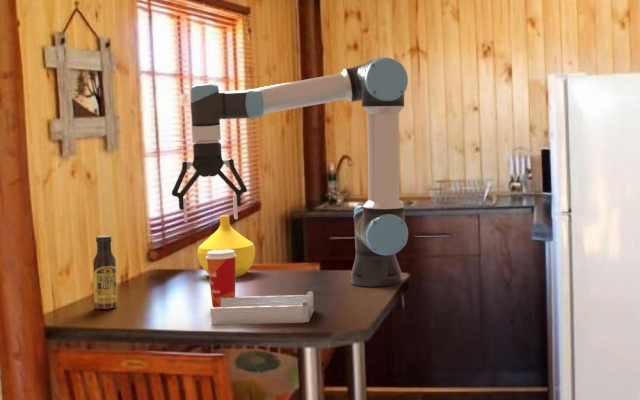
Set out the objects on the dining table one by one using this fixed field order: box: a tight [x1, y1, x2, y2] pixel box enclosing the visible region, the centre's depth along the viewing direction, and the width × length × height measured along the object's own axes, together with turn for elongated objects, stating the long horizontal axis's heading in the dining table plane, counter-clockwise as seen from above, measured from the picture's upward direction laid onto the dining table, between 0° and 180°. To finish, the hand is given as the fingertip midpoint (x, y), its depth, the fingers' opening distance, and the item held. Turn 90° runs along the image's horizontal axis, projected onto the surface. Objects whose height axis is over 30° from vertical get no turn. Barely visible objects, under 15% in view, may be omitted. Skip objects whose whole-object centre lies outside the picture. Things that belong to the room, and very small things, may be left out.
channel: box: [210, 290, 315, 326], centre depth 237 cm, size 24×13×5 cm, turn 85°
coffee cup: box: [206, 250, 236, 307], centre depth 252 cm, size 8×8×15 cm
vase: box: [197, 214, 256, 278], centre depth 299 cm, size 18×18×19 cm
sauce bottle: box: [92, 235, 118, 310], centre depth 257 cm, size 6×6×20 cm
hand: (210, 220), depth 256 cm, fingers open, 13 cm apart
